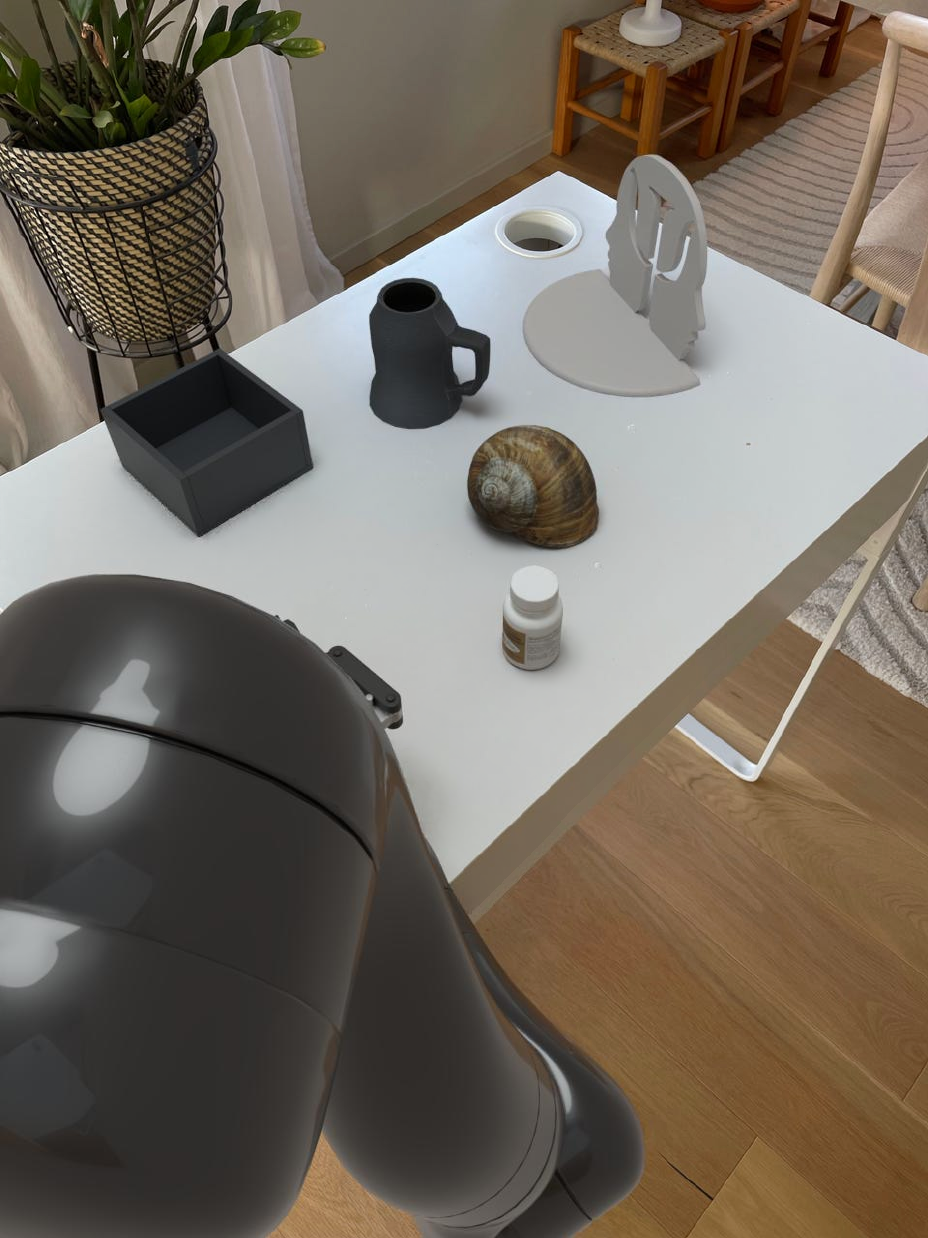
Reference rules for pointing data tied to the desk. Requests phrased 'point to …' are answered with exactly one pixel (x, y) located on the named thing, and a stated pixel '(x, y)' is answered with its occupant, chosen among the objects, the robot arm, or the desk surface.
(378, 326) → the mug
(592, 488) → the seashell
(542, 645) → the pill bottle
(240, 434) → the bin
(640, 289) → the ornament
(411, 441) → the desk surface
